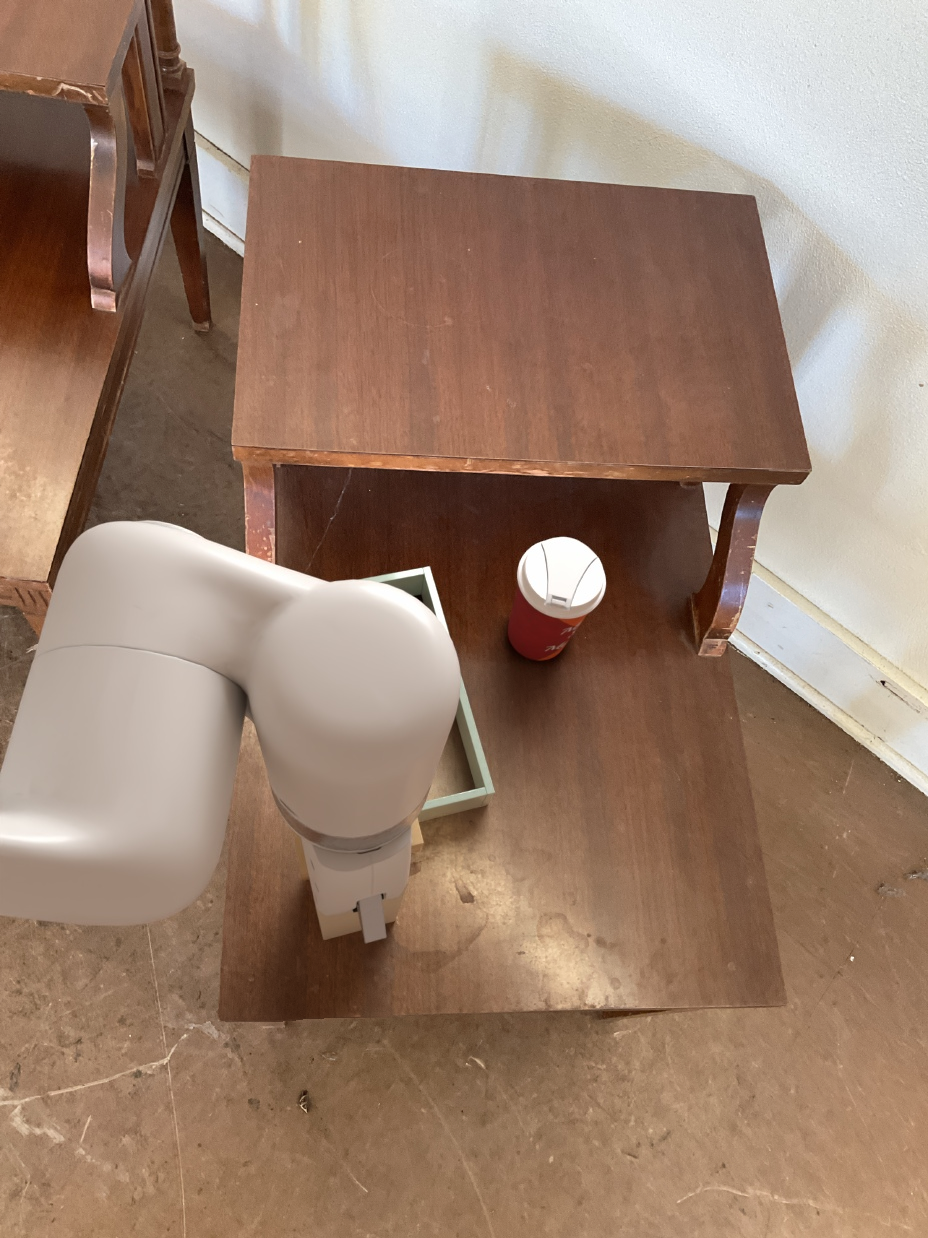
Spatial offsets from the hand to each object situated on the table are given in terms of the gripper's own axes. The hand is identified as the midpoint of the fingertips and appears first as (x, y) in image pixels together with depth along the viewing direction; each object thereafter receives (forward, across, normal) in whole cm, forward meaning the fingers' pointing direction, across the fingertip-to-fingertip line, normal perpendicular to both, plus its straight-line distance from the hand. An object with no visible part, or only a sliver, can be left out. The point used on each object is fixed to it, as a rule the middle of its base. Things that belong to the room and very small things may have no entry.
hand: (348, 845), depth 58 cm
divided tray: (+21, -15, +8) cm, 27 cm away
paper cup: (+21, -19, +23) cm, 37 cm away
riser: (+21, 0, 0) cm, 21 cm away
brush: (+1, 0, 0) cm, 1 cm away
